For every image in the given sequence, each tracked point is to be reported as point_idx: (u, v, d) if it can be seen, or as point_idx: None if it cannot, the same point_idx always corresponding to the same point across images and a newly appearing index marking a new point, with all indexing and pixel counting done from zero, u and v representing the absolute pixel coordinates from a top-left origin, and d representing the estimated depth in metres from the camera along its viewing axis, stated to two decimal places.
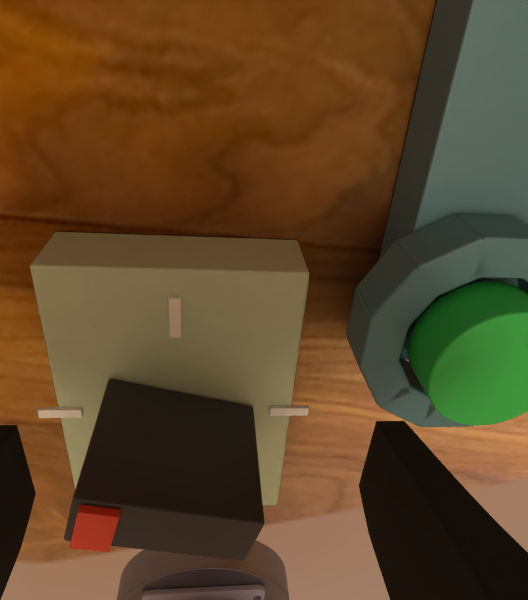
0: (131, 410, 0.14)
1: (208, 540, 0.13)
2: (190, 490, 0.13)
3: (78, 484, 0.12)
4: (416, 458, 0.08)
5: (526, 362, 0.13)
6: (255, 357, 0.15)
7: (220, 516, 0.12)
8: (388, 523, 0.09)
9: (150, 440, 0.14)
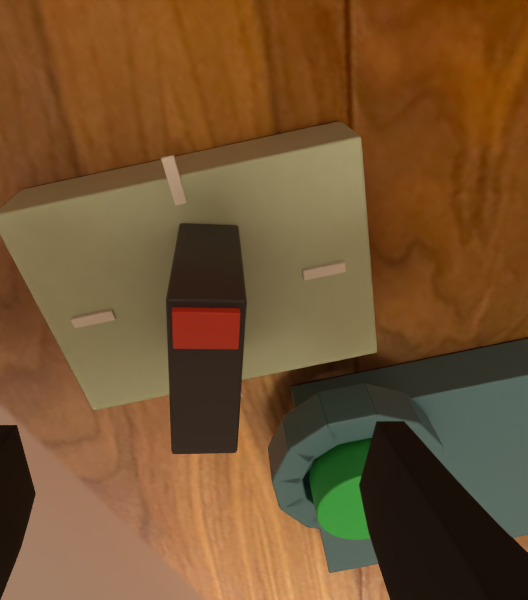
0: None
1: (201, 420, 0.12)
2: None
3: (244, 291, 0.11)
4: (416, 458, 0.08)
5: None
6: (289, 339, 0.17)
7: (238, 419, 0.12)
8: (387, 522, 0.09)
9: None
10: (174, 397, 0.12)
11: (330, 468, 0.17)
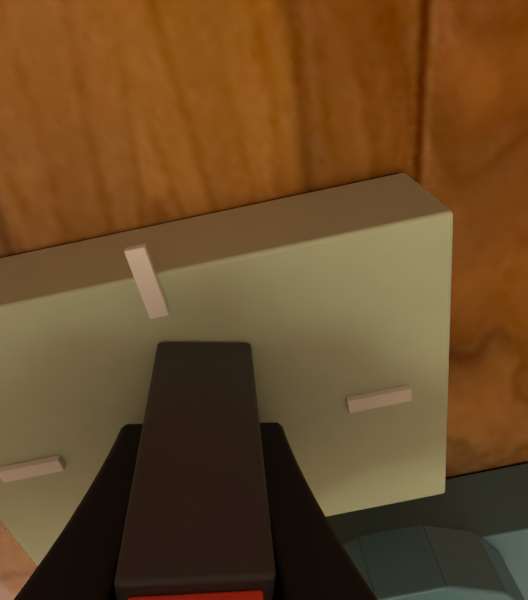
0: None
1: None
2: None
3: (269, 542, 0.06)
4: (271, 461, 0.08)
5: None
6: (321, 483, 0.12)
7: None
8: None
9: None
10: None
11: None
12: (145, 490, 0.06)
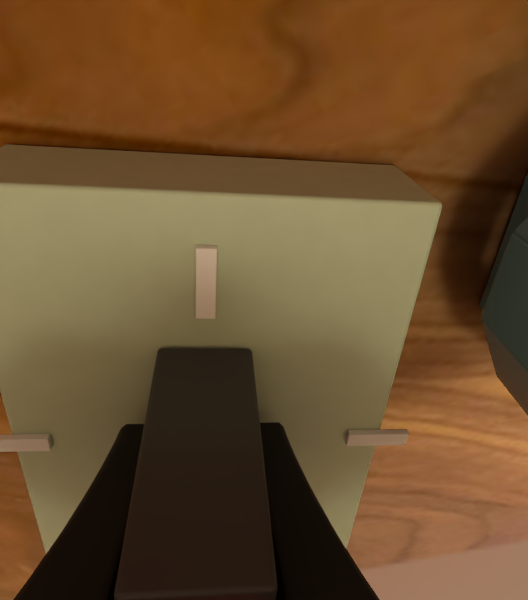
0: None
1: None
2: None
3: (271, 553, 0.06)
4: (272, 461, 0.08)
5: None
6: (333, 352, 0.09)
7: None
8: None
9: None
10: None
11: None
12: (145, 499, 0.06)
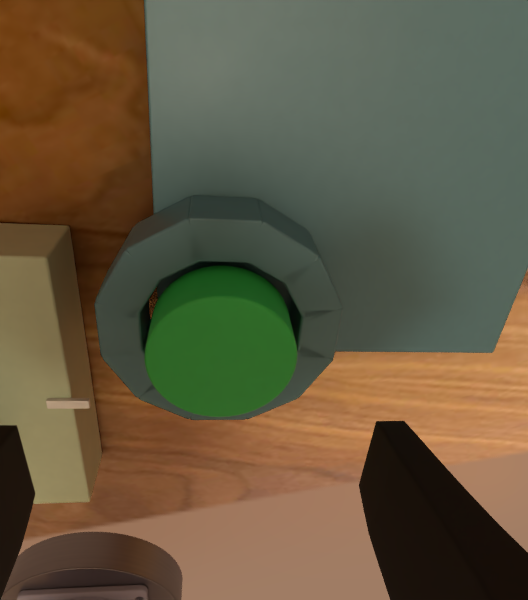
0: None
1: None
2: None
3: None
4: (416, 458, 0.08)
5: (245, 350, 0.12)
6: (14, 346, 0.15)
7: None
8: (388, 523, 0.09)
9: None
10: None
11: None
12: None
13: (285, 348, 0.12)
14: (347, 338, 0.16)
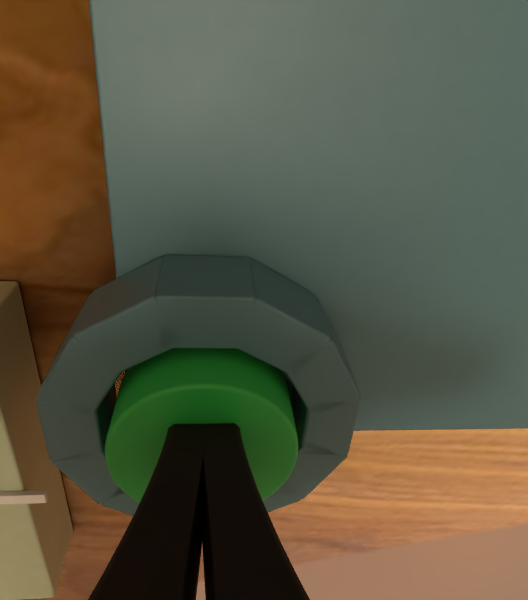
0: None
1: None
2: None
3: None
4: (222, 462, 0.08)
5: None
6: None
7: None
8: (204, 529, 0.09)
9: None
10: None
11: None
12: None
13: (282, 441, 0.10)
14: (363, 416, 0.13)
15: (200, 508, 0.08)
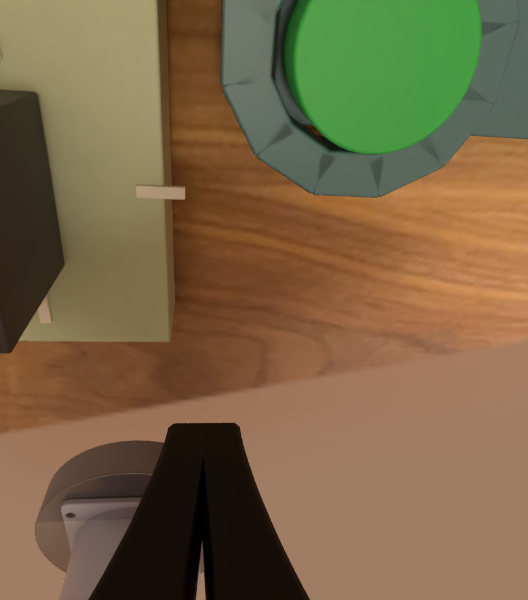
0: (27, 139, 0.11)
1: None
2: (4, 258, 0.10)
3: None
4: (222, 462, 0.08)
5: (420, 38, 0.10)
6: (105, 102, 0.12)
7: (0, 306, 0.10)
8: (204, 529, 0.09)
9: (17, 180, 0.11)
10: None
11: (298, 103, 0.11)
12: None
13: (468, 37, 0.10)
14: (489, 115, 0.14)
15: (200, 508, 0.08)
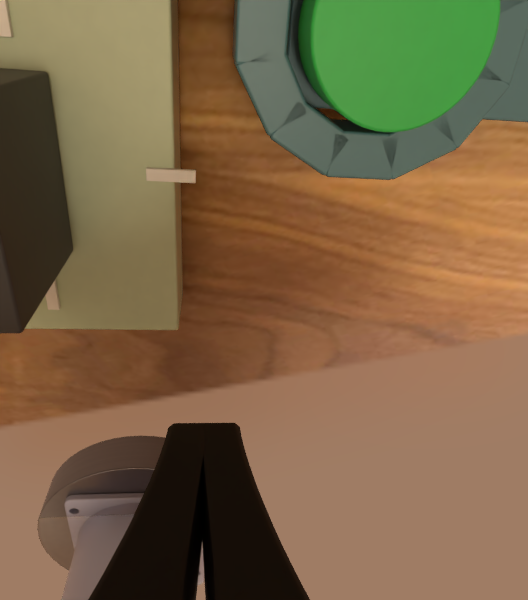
0: (38, 118, 0.11)
1: None
2: (16, 235, 0.10)
3: None
4: (222, 462, 0.08)
5: (438, 12, 0.09)
6: (116, 82, 0.12)
7: (12, 284, 0.10)
8: (204, 529, 0.09)
9: (28, 158, 0.11)
10: None
11: (313, 81, 0.11)
12: None
13: (487, 11, 0.10)
14: (502, 99, 0.14)
15: (200, 508, 0.08)
